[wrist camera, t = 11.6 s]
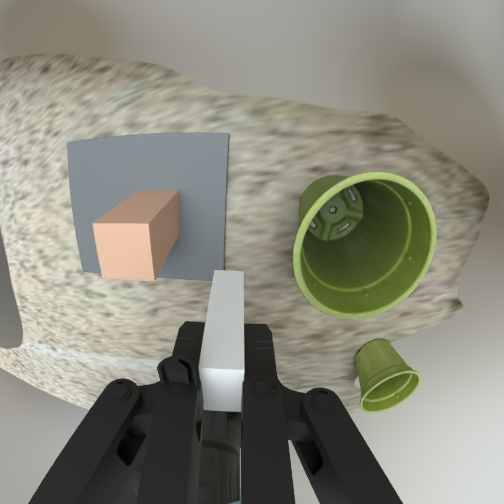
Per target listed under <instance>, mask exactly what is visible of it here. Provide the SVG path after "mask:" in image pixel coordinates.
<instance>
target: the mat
mask: <svg viewBox="0 0 504 504" xmlns="http://www.w3.org/2000/svg"><path fill="white" fill-rule="evenodd" d="M228 142H229V133H159V134H140V135H126V136H114V137H104V138H95V139H87V140H80V141H73V142H67V148H68V170H69V183H70V194H71V203H72V211H73V218H74V225H75V231H76V237H77V243H78V248H79V254H80V259H81V263H82V268H83V272H90V273H101V269H100V264H99V259H98V253H97V248H96V242H95V236H94V230H93V223H94V222H95V221H96V220H98V219H99V218H100V217H102V216H103V215H104V214H106V213H107V212H108V211H110V210H111V209H112V208H114V207H115V206H116V205H118V204H119V203H121V202H122V201H123V200H125V199H126V198H128V197H129V196H131V195H132V194H133V193H135V192H136V191H142V190H179V208H180V234H179V236H178V237H177V239H176V241H175V243H174V245H173V247H172V249H171V251H170V252H169V254H168V256H167V258H166V260H165V262H164V264H163V266H162V268H161V270H160V272H159V274H158V276H157V278H172V279H189V280H208V281H213V275H214V270H224V239H225V208H226V183H227V161H228Z"/></svg>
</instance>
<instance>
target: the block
mask: <svg viewBox="0 0 504 504" xmlns="http://www.w3.org/2000/svg"><path fill="white" fill-rule="evenodd" d="M93 230H94V236H95V242H96V248H97V253H98V259H99V264H100V269H101V273H102V278H111V279H125V280H140V281H155V280H156V278H157V276H158V274H159V272H160V270H161V268H162V266H163V264H164V262H165V260H166V258H167V256H168V254H169V252H170V251H171V249H172V247H173V245H174V243H175V241H176V239H177V237H178V236H179V234H180V208H179V190H142V191H136V192H135V193H133V194H132V195H131V196H129V197H128V198H126V199H125V200H123V201H122V202H121V203H119V204H118V205H116V206H115V207H114V208H112V209H111V210H110V211H108V212H107V213H106V214H104V215H103V216H102V217H100V218H99V219H98V220H96V221H95V222H94V223H93Z"/></svg>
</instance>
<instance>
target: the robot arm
mask: <svg viewBox="0 0 504 504" xmlns="http://www.w3.org/2000/svg"><path fill="white" fill-rule="evenodd" d="M157 370H158V374H159V377H160V381H159V382H157V383H154V384H150V385H142V386H137V385H136V383H134V382H133V381H131V380H128V379H117V380H114V381H112V382H111V383H110V384H108V385H107V386H106V388H105V389H104V391H103V392H102V393H101V395H100V396H99V398H98V399H97V400H96V402H95V403H94V405H93V406H92V408H91V409H90V410H89V412H88V413H87V415H86V416H85V418H84V419H83V421H82V422H81V423H80V425H79V426H78V428H77V429H76V431H75V432H74V434H73V435H72V436H71V438H70V439H69V441H68V443H67V444H66V446H65V447H64V449H63V450H62V451H61V453H60V454H59V456H58V457H57V459H56V460H55V462H54V464H53V465H52V467H51V468H50V470H49V471H48V473H47V474H46V476H45V478H44V479H43V481H42V482H41V484H40V485H39V487H38V489H37V491H36V492H35V494H34V495H33V497H32V499H31V500H30V502H29V503H28V504H295V498H294V488H293V479H292V470H291V462H290V453H289V444H288V440H291V441H292V443H293V445H294V447H295V450H296V452H297V454H298V457H299V459H300V461H301V463H302V466H303V468H304V470H305V473H306V475H307V477H308V479H309V481H310V483H311V486H312V488H313V490H314V492H315V494H316V496H317V498H318V500H319V503H320V504H403V503H402V501H401V500H400V498H399V496H398V495H397V493H396V491H395V490H394V488H393V487H392V485H391V483H390V481H389V480H388V478H387V476H386V475H385V473H384V472H383V470H382V468H381V466H380V465H379V463H378V462H377V460H376V458H375V457H374V455H373V453H372V452H371V450H370V448H369V447H368V445H367V443H366V442H365V440H364V438H363V437H362V435H361V433H360V432H359V430H358V428H357V427H356V425H355V424H354V422H353V420H352V419H351V417H350V415H349V414H348V412H347V410H346V409H345V407H344V405H343V404H342V402H341V400H340V399H339V397H338V396H337V395H336V394H335V393H334V392H333V391H331V390H329V389H325V388H314V389H312V390H310V391H308V392H307V393H301V392H297V391H293V390H290V389H288V388H286V387H284V386H283V385H282V384H281V383H280V381H279V380H278V377H277V371H276V363H275V355H274V347H273V339H272V332H271V331H270V329H269V328H268V326H267V325H266V324H244V271H227V270H214V275H213V281H212V287H211V293H210V298H209V304H208V310H207V316H206V323H204V322H189V321H186V322H185V323H184V324H183V325H182V326H181V327H180V328H179V331H178V335H177V339H176V343H175V346H174V350H173V354H172V356H171V357H168V358H165V359H164V360H162V361H161V362H160V363H159V365H158V367H157ZM240 448H241V494H240ZM240 495H241V496H240Z"/></svg>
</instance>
